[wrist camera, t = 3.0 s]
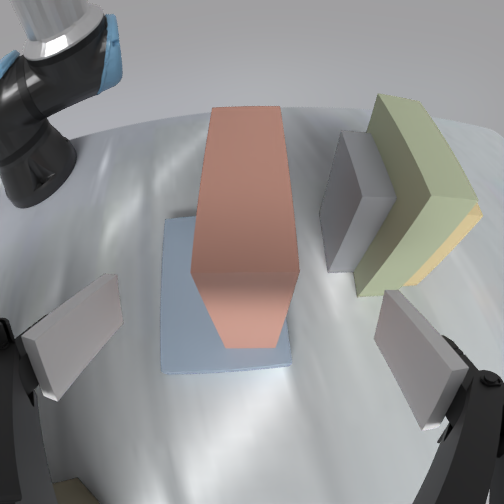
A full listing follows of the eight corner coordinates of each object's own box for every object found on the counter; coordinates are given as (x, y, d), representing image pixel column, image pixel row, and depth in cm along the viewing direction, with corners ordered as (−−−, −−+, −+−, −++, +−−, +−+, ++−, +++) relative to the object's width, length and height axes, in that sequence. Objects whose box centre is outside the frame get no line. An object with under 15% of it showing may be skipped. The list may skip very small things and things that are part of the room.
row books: (340, 207, 37) (377, 92, 22) (395, 208, 37) (446, 107, 22) (357, 296, 31) (431, 195, 16) (418, 292, 31) (506, 204, 16)
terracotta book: (228, 235, 32) (212, 107, 18) (271, 234, 32) (279, 105, 18) (225, 348, 26) (190, 272, 12) (275, 347, 26) (299, 271, 12)
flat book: (169, 228, 35) (165, 218, 33) (268, 219, 36) (269, 208, 34) (167, 374, 27) (160, 371, 25) (289, 365, 27) (292, 362, 25)
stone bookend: (319, 213, 36) (341, 130, 25) (342, 214, 36) (370, 133, 25) (327, 272, 32) (362, 196, 21) (353, 272, 32) (397, 198, 21)
